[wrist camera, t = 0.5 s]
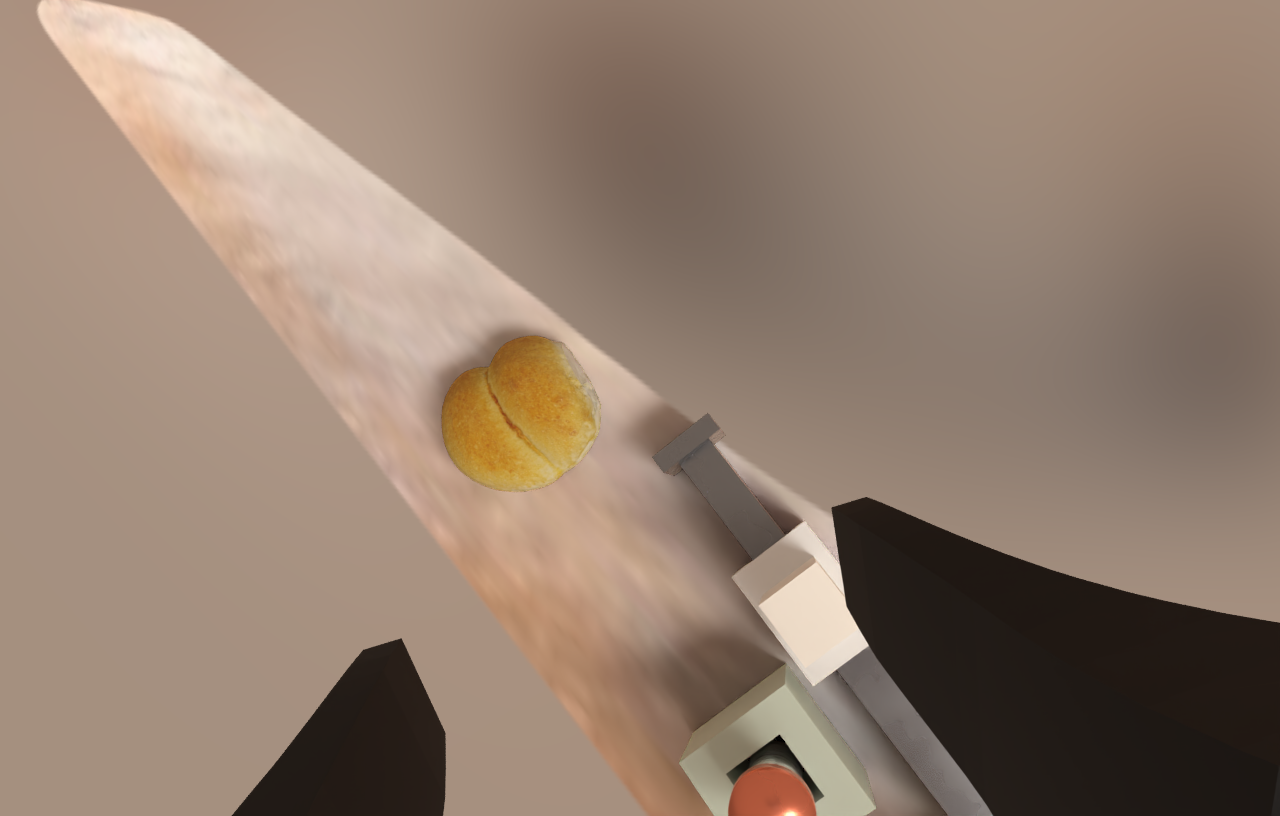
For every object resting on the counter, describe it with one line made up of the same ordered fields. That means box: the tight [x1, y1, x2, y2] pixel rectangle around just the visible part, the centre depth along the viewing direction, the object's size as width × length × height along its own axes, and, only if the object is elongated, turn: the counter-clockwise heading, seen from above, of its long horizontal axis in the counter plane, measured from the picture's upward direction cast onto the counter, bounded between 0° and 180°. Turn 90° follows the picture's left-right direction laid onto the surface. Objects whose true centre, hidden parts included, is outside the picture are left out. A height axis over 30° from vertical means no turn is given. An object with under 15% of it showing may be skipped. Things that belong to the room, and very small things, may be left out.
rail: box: [652, 413, 993, 816], centre depth 33 cm, size 24×4×3 cm, turn 37°
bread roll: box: [442, 336, 601, 492], centre depth 38 cm, size 8×9×4 cm
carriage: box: [731, 521, 869, 687], centre depth 31 cm, size 6×4×7 cm
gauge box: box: [679, 663, 876, 816], centre depth 32 cm, size 6×6×4 cm
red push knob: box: [728, 741, 817, 816], centre depth 29 cm, size 3×3×5 cm
